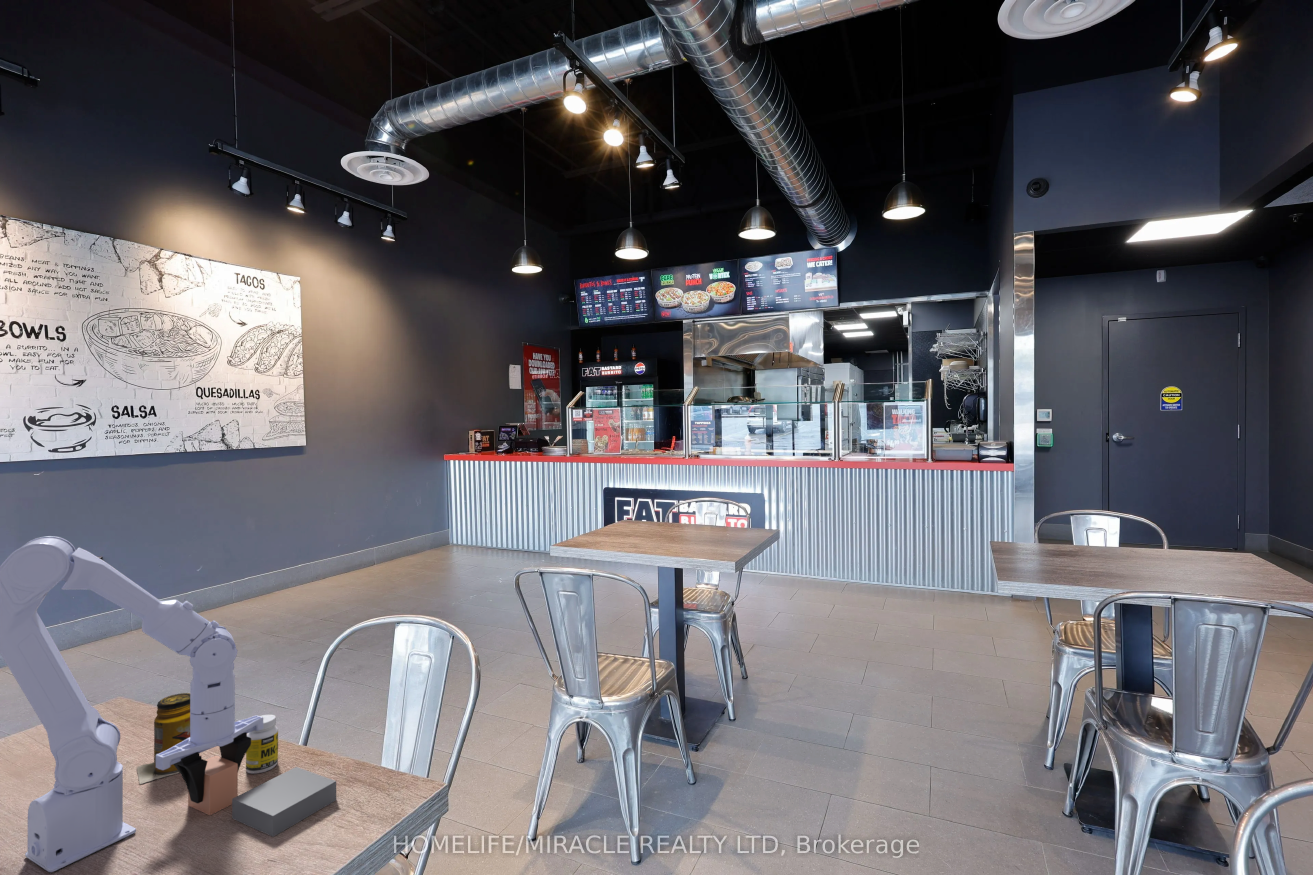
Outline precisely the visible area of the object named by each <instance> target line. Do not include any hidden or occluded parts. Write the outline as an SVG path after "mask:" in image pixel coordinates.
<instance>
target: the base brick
mask: <svg viewBox="0 0 1313 875" xmlns="http://www.w3.org/2000/svg"><path fill="white" fill-rule="evenodd" d="M335 801H337V780H335V779H332V778H330V777H329V778H328V777H326V776H323V775H320V774H318V773H315V772H312V771H309V770H306V769H303V768H300V767H298V766H295V767H293V768H291V769H289V770H287V771H285V772H283V773H281V774H279V775H277V776H275V777H273V778H271V779H269V780H267V781H265V782H263V783H261V784H259V785H257V786H255V787H253V788H251V789H250V790H247V791H245V792H243V793H241V794H238V796H237V797H235V798H233V799H232V805H231V812H232V813H231V818H232V819H233V820H234V821H237V822H238V823H242V824H244V825H245V826H248V827H250V828H253V829H254V830H257V831H259V832H261V833H263V834H266V835H268V836H270V837H275V836H277V835H278V834H280V833H282V832H284V831H286V830H287V829H289V828H291V827H292V826H294V825H296V824H297V823H300V822H301V821H302V820H305V819H306V818H307V817H309V816H311V815H313V814H315V813H317V812H319V811H320V810H321V809H324V808H325V807H327V806H329V805H331V804H332V803H333V802H335Z"/></svg>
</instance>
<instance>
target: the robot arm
mask: <svg viewBox="0 0 1313 875" xmlns="http://www.w3.org/2000/svg"><path fill="white" fill-rule="evenodd" d="M61 581H62V582H65V583H64V584H63V586H62V587H61V588H60V589H61V590H62V591H63V590H64V591H67V590H68V591H72V590H73V591H74V590H75V591H79V590H82V591H83V590H84V591H85V590H88V591H91V592H93V593H95V594H96V595H98V596H100V597H102V598H104V599H106V600H107V601H109V602H111V603H113V604H114V605H116V606H118V607H120V608H122V609H123V610H125V611H126V612H128V613H131V614H132V615H134V616H135V617H137V618H139V619H141V621H142V622H141V631H142V632H143V633H144V634H145V635H147V636H148V637H150V638H151V639H154V640H155V641H156V642H158V643H160V644H162V646H163V645H164V647H167V648H168V649H170V650H171V651H173V652H175V653H176V654H177V655H179V656H185V657H186V656H187V657H189V663H190V665H191V667H192V679H191V681H190V682H189V683H190V684H189V685H190V686H189V688H190V690H189V693H190V737H189V738H188V739H186V740H184V741H182V742H180V743H179V744H177V745H175V746H173V747H171V748H169V749H168V750H166V751H163V752H161V753H159V754H156V768H158V769H161V770H165V769H168V768H170V765H172V764H173V765H174V766H175V767H176V768H177V770H178V771H179V772H180V773H179V774H180V776H181V778H182V779H183V780H184V783H185V785H186V789H187V792H188V791H189V795H190V799H191V801H193V802H195V803H200V802H202V801H203V796H204V775H205V769H206V765H207V762H208V761H206V759H203V757H202V755H200V753H203V752H206V751H208V750H210V749H214V748H215V747H219V751H220V752H219V753H220V757H222V758H224V759H227V760H229V761H232V762H235V763H237V764H238V771H239V770H240V767H241V765H242V762H243V759H244V757H246V752H247V750H248V748H249V747H250V745H251V738H250V737H247V734H248V733H249V732H252V731H254V730H255V731H259V730H261V729H263V717H261V716H262V715H257V714H256V715H253V716H250V717H246V718H242V719H240V720H237V721H235V720H236V719H235V718H236V714H235V713H236V711H235V710H236V675H235V672H234V669H235V659H236V657H237V655H238V649H237V646H236V642H235V640H234V637H233V635H232V633H230V632H229V630H227V627H226V626H222V625H220V623H219V622H217V621H216V620H212V621H210V620H209V619H207V618H206V617H204V616H202V615H201V614H199V613H197V611H195V610H193V608H194V604H193V603H191V602H190V601H188V600H185V601H184V602H181V601H179V600H178V599H168V600H160V599H159V598H157V597H156V596H154V594H151V593H150V592H149V591H147V589H144V587H142V586H140V585H139V584H137V583H136V582H134V581H133V579H130V578H129V577H127V576H126V575H125V574H123V573H122V572H121V571H119V570H117V569H116V568H114V567H113V566H112V565H111V564H109V563H108V562H106V561H104V560H103V559H101V558H100V557H98V556H96V555H95V554H93V553H92V552H90V551H88V550H86V549H83V548H81V547H78V548H77V549H76V548H75V546H74V545H73V543H71V542H70V541H69V540H67V539H65V538H63V537H61V536H54V535H53V536H52V535H48V536H41V537H36V538H34V539H31V540H29V541H28V542H26V543H24V544H23V545H22V546H21V547H19V548H17V549H15V550H14V551H12V552H11V553H10V554H9V555H8V556H7V557H6V559H5V560H4V561H3V562H2V563H1V565H0V655H1V658H2V659H3V660H4V662H5V664H6V665H7V667H8V669H9V671H10V672H11V674H12V675H13V678H14V679H15V680H16V682H17V684H18V685H19V688H20V690H21V691H22V692H23V694H24V696H25V698H26V699H27V701H28V703H29V704H30V706H31V708H32V709H33V711H34V714H36V716H37V718H38V719H39V721H40V723H41V724H42V726H43V727H44V729H45V731H46V733H47V734H46V735H47V739H48V744H49V749H50V753H51V754H52V756H53V759H54V760H55V768H54V778H55V781H54V785H53V788H52V789H50V790H49V791H48V792H47V793H45V794H43V795H41V796H40V797H37V798H35V799H33V800H32V801H31V802H30V803H29V806H28V809H27V852H25V858H27V859H29V860H30V861H32V862H33V863H34V864H36V865H38V866H39V867H40V868H42V869H43V870H45V871H47V873H54V872H56V871H58V870H60V869H61V868H64V867H66V866H69V865H71V864H72V863H75V862H77V861H79V860H81V859H83V858H85V857H87V856H90V855H91V854H94V853H95V852H99V851H100V850H102V849H104V848H106V847H108V846H110V845H113V844H114V843H116V842H118V841H120V840H122V839H125V838H127V837H129V836H131V835H133V834H136V832H137V828H136V827H134V826H132V825H130V824H128V823H127V822H124V820H123V817H124V816H123V815H124V810H123V809H124V808H123V807H124V804H123V802H124V801H123V800H124V796H123V795H124V794H123V792H124V791H123V790H124V789H123V788H124V787H123V785H124V781H123V780H124V776H123V775H124V771H123V769H124V768H123V766H124V765H123V764H122V763H121V762H119V761H118V756H117V755H118V754H117V752H118V748H119V744H120V741H121V731H120V729H119V727H118V726H117V725H116V724H114V723H113V722H110V721H108V720H106V719H104V718H103V717H102V715H101V714H100V712H99V711H98V709H97V708H95V707H94V706H92V705H91V704H90V702H89V700H88V699H87V698H86V695H85V694H84V692H83V691H82V689H81V687H80V685H79V683H78V681H77V680H76V677H74V675H73V672H72V671H71V670H70V667H69V665H68V664H67V662H66V661H65V658H64V657H63V655H62V654H61V652H60V650H59V648H58V646H57V644H56V642H55V641H54V639H53V638H52V636H51V634H50V632H49V630H48V629H47V627H46V626H45V623H44V622H43V620H42V618H41V616H40V615H39V613H38V608H39V607H40V606H41V604H42V603H43V601H44V599H45V598H46V596H47V595H48V593H49V592H50V591H51V590H52V589H53V588H55V587H56V585H58V584H59V583H60V582H61Z"/></svg>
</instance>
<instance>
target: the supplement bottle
mask: <svg viewBox="0 0 1313 875" xmlns="http://www.w3.org/2000/svg"><path fill="white" fill-rule="evenodd" d="M260 716H261V717H263V729H261V730H259V731H255V730H254V731H252V732H249V733H247V737H250V738H251V745H250V747H249V748H248V750H247V752H246V754H245V771H246V772H247V773H248V774H253V775H254V774H262V773H265V772H268V771H270V770H272V769H274V768H275V767H276V766H277V765H278V763H279V761H278V760H279V729H278V726H276V724H277V717H276V715H275V714H262V715H260Z"/></svg>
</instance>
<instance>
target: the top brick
mask: <svg viewBox="0 0 1313 875" xmlns="http://www.w3.org/2000/svg"><path fill="white" fill-rule="evenodd" d="M205 760H206V761H208V762H207V765H206V769H205V775H204V796H203V801H202V802H200V803H195V802H193V801H191V799H190V795H189V791H188V790H187V795H188V796H187V800H188V801H187V806H189V807H191V808H193V809H194V810H197V811H199V812H202V813H204V814H206V815H208V816H211V815H213V814H215V813H218V812H220V811H221V810H224V809H226V808H228V807H229V806H232V799H233V798H235V797H237V796H239V794H238V792H239V791H238V790H239V789H238V786H239V785H238V784H239V782H238V781H239V780H238V777H239V775H238V773H239V770H238V764H237V763H235V762H232V761H229V760H227V759H224V758H222V757H221V756H219V755H213V756H211V757H209V758H207V759H205Z"/></svg>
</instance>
